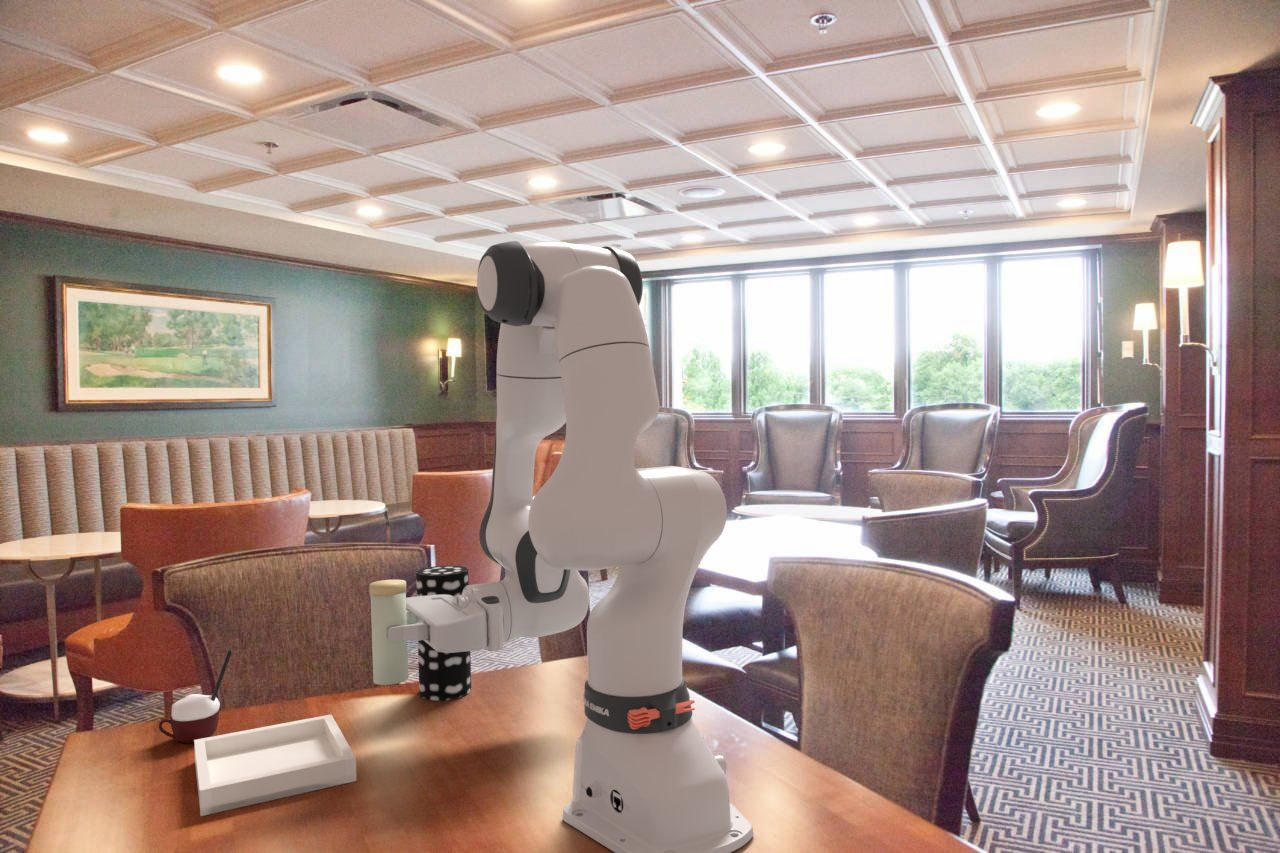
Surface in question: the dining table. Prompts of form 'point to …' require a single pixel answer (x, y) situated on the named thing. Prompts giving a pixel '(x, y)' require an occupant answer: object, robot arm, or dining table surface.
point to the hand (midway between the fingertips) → (382, 629)
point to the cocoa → (196, 714)
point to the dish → (271, 763)
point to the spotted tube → (438, 669)
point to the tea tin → (384, 613)
